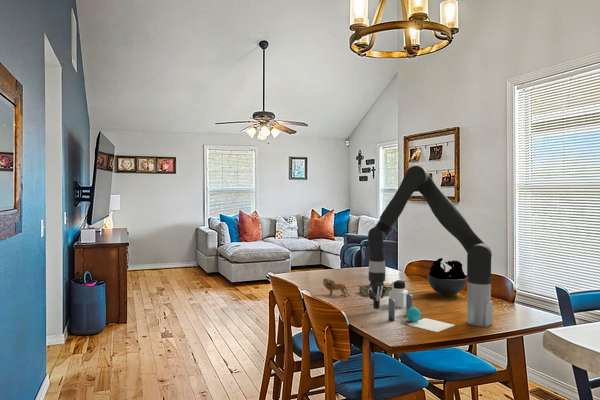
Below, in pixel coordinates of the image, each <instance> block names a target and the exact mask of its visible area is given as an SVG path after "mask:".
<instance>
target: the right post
mask: <svg viewBox="0 0 600 400" xmlns="http://www.w3.org/2000/svg"><path fill="white" fill-rule="evenodd" d="M411 307H413V294H410V293H408V294H406V306H405V313H406V312H407V310H408V309H409V308H411Z"/></svg>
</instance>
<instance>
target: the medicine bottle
mask: <svg viewBox="0 0 600 400" xmlns="http://www.w3.org/2000/svg"><path fill="white" fill-rule="evenodd" d="M391 284H392V289H393V290H391V291H389V295H388V300H389V299H395V308H399V309H403V308H406V294H409V290H407V289H406V282H405V280H401V279H397V280H396V279H395V280H392V282H391Z"/></svg>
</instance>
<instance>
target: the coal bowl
mask: <svg viewBox="0 0 600 400" xmlns="http://www.w3.org/2000/svg"><path fill="white" fill-rule="evenodd" d="M443 259H444V258H442V257H439V258H437V259H436V260H434V261H433V262H432V265H431V266H430V269H429V273H428V274H427V281H428V283H429V286H430V287H431V288H432V289H433V291H434V292H436V293H437V294H439V295H442V296H446V297H447V296H448V297H450V296H454V295H457V294H459V293H460V292H461V291H463V290H464V289H465V287H466V285H467V282H468V281H467V274H465V273H464V270H463V263H462V262H460V261H459V260H447V261H444V263H445V264H446V265H447V266H449V267H451V268H450V269H449V270H447V271H445V269H444V268H443V267H442V266H441V265H442V262H443Z"/></svg>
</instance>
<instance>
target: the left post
mask: <svg viewBox="0 0 600 400" xmlns="http://www.w3.org/2000/svg"><path fill="white" fill-rule="evenodd" d="M395 312H396V307H395V299H389V298H388V317H387V318H388V319H387V320H388V321H389V322H395V318H396V317H395V316H396V315H395Z"/></svg>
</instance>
